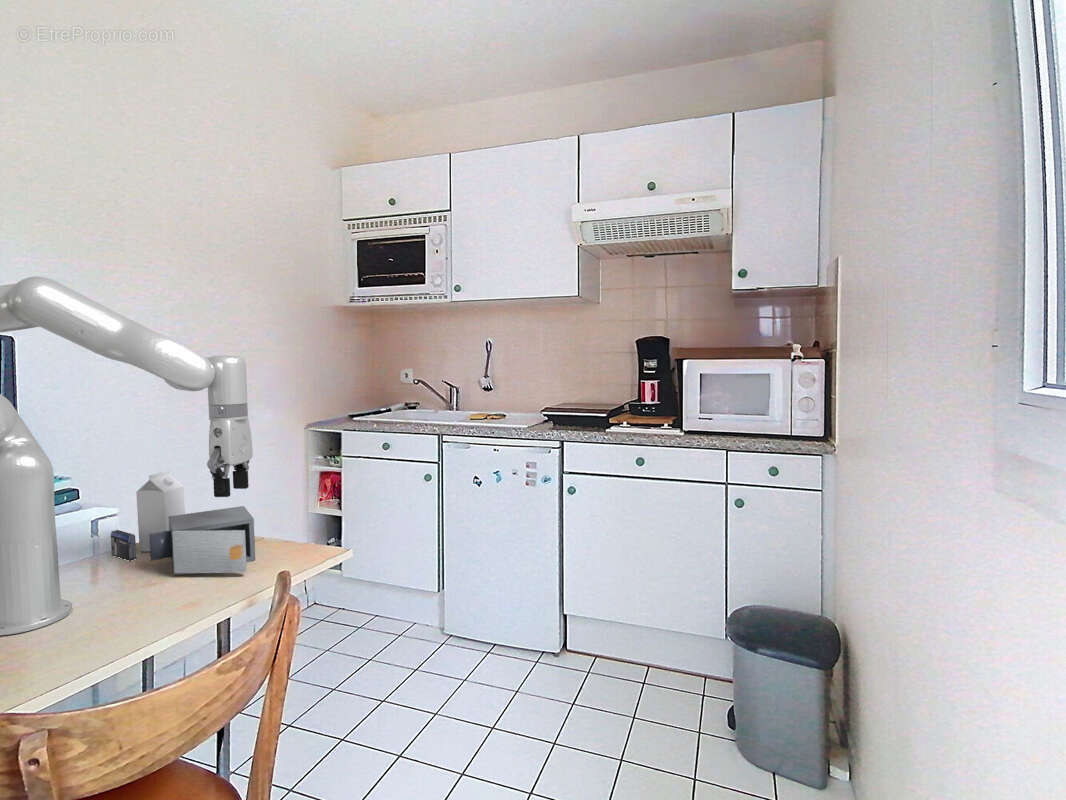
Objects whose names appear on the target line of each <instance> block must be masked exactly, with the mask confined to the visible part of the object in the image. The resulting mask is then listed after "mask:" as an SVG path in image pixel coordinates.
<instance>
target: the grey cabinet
mask: <svg viewBox="0 0 1066 800" xmlns="http://www.w3.org/2000/svg"><path fill="white" fill-rule="evenodd" d="M254 519H255V518H254V517H253V515H252V514H251V513H250V512H249V511H248V509H247V508H246V507H245V505H241V506H234V507H227V508H226V507H225V508H220V509H211V510H205V511H199V512H198V511H196V512H190V513H185V514H182V515H175V516H169V531H164V532H157V533H150V534H149V542H150V552H149V556H150V557H149V558H150V561H157V560H162V559H163V560H164V559H168V558H170V561H171V566H172V570H173V575H174V577H175V576H182V575H186V574H188V573H174V556H173V537H172V532H174V531H216V530H245V542H246V563H248V562H253V561H256V544H255V543H256V540H255V520H254Z"/></svg>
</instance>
